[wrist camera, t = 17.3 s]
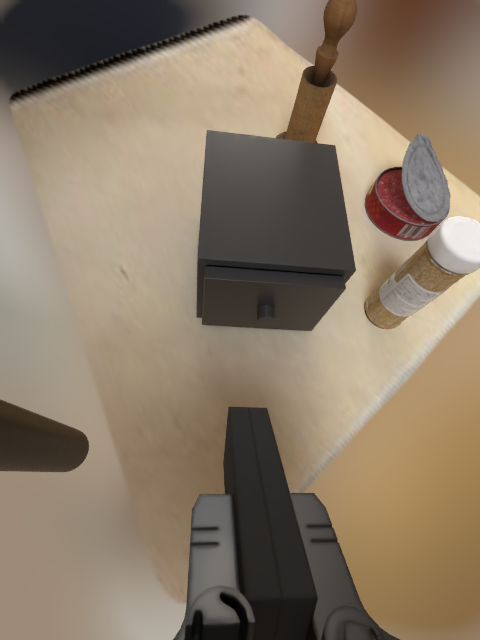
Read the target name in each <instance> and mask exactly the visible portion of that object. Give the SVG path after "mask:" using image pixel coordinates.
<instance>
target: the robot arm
mask: <svg viewBox="0 0 480 640" xmlns="http://www.w3.org/2000/svg"><path fill="white" fill-rule="evenodd" d="M223 465H224V485H225V494H205V495H199V497H198V499H197V501H196V503H195V505H194V507H193V509H192V519H191V537H190V554H189V572H188V589H187V607H186V613H185V618H184V621H183V623H182V626H181V629H180V630H179V632H178V633H177V635H176V637H175V638H174V639H173V640H400V639H397V638H396V637H394V636H391V635H389V634H388V633H387V632H385V631H384V630H383V629H381V628H380V627H379V626H378V625H377V624H376V623H375V621H374V620H373V619H372V618H371V617H370V616H369V615H368V613H367V612H366V610H365V609H364V607H363V605H362V603H361V601H360V599H359V596H358V593H357V590H356V588H355V585H354V583H353V580H352V577H351V574H350V572H349V569H348V566H347V564H346V561H345V558H344V556H343V553H342V550H341V548H340V545H339V543H338V542H337V537H336V534H335V531H334V529H333V528H332V524H331V521H330V518H329V516H328V513H327V510H326V508H325V506H324V505H323V504H322V503H321V502H320V500H319V499H318V498H317V496H316V495H315V494H314V493H290V492H289V488H288V484H287V481H286V477H285V473H284V470H283V466H282V462H281V458H280V455H279V451H278V447H277V444H276V440H275V436H274V433H273V429H272V425H271V421H270V418H269V414H268V410H267V408H246V407H228V418H227V429H226V440H225V451H224V462H223Z"/></svg>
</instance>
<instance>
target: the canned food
mask: <svg viewBox="0 0 480 640" xmlns="http://www.w3.org/2000/svg"><path fill="white" fill-rule="evenodd" d="M365 208H366V212H367V214H368V216H369V218H370V219H371V221H372V222H373V223H374V224H375V225H376V226H377V227H378V228H379V229H380V230H381V231H383V232H384V233H386V234H388V235H390V236H392V237H394V238H397V239H401V240H407V241H414V240H420V239H423V238H425V237H427V236H428V235H429V234H430V233H431V232H432V231H433V230H434V229H435V228H436V227H437V226H438V225H439V224H440V223H441V222H442V221H443V220H444V219H445V218H446V217H447V215H448V213H449V208H450V192H449V189H448V183H447V179H446V177H445V175H444V173H443V169H442V166H441V164H440V162H439V161H438V158H437V156H436V153H435V151H434V149H433V148H432V145H431V142H430V140H429V138H428V136H427V135H426V134H423V135H417V136H416V137H415V139H414V140H413V141H412V142H411V143H410V144H409V147H408V149H407V151H406V154H405V157H404V160H403V165H402V167H394V168H390V169H387V170H385V171H384V172H382V173H381V174H380V175H379V176H378V178H377V180H376V181H375V183H374V185H373V186H372V188H371V190H370V191H369V193H368V194H367V196H366V199H365Z"/></svg>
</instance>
